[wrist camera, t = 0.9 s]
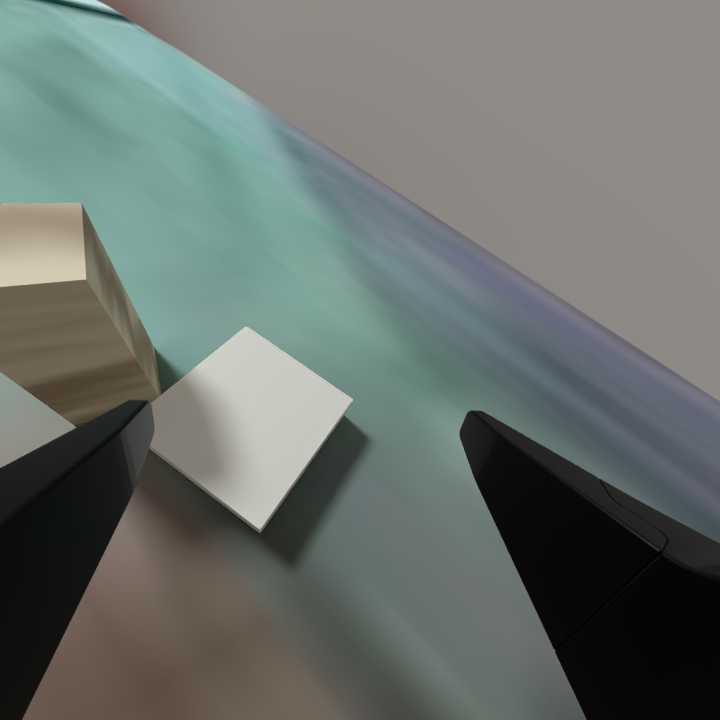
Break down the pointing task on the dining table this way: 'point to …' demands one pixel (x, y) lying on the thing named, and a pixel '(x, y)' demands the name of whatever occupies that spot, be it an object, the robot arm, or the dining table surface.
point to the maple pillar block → (68, 315)
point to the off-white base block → (246, 425)
